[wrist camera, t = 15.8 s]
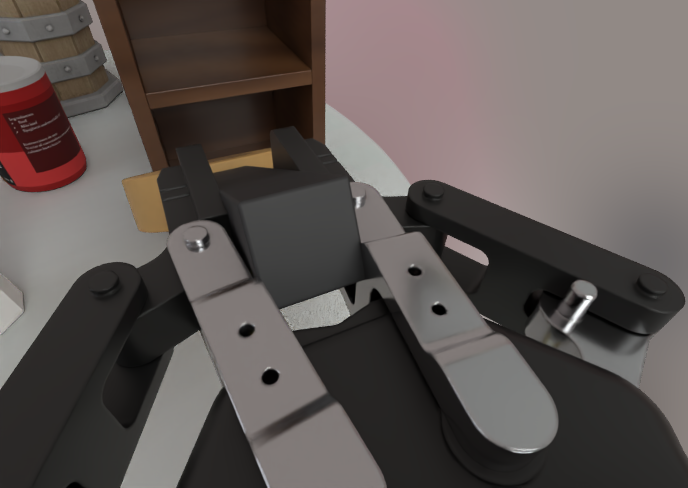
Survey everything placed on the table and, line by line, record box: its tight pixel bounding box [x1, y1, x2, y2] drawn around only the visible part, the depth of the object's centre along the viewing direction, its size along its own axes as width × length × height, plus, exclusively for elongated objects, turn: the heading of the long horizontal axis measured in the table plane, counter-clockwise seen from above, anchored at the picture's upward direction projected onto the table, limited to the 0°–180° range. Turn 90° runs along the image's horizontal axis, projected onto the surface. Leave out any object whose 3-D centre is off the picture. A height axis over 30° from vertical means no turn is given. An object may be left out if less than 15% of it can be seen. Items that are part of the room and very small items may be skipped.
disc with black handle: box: [122, 148, 365, 309], centre depth 17 cm, size 20×9×3 cm, turn 25°
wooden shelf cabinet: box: [93, 0, 326, 172], centre depth 32 cm, size 16×15×31 cm
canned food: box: [0, 56, 86, 192], centre depth 40 cm, size 8×8×11 cm
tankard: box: [0, 0, 123, 118], centre depth 50 cm, size 20×13×15 cm, turn 133°
